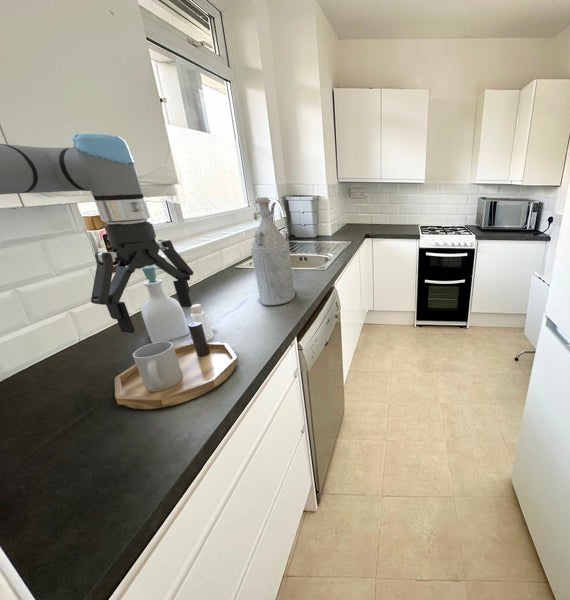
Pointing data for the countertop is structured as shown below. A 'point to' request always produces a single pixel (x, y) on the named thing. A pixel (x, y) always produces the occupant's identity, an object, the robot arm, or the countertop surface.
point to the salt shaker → (201, 320)
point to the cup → (158, 366)
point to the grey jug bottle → (271, 259)
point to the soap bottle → (162, 311)
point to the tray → (195, 369)
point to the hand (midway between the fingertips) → (159, 318)
